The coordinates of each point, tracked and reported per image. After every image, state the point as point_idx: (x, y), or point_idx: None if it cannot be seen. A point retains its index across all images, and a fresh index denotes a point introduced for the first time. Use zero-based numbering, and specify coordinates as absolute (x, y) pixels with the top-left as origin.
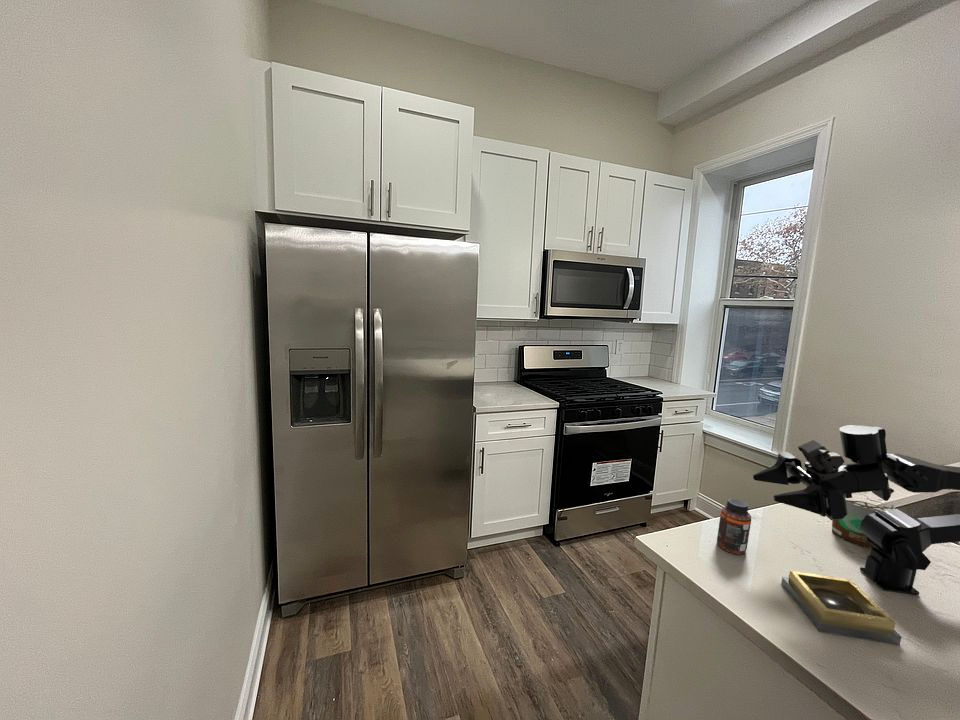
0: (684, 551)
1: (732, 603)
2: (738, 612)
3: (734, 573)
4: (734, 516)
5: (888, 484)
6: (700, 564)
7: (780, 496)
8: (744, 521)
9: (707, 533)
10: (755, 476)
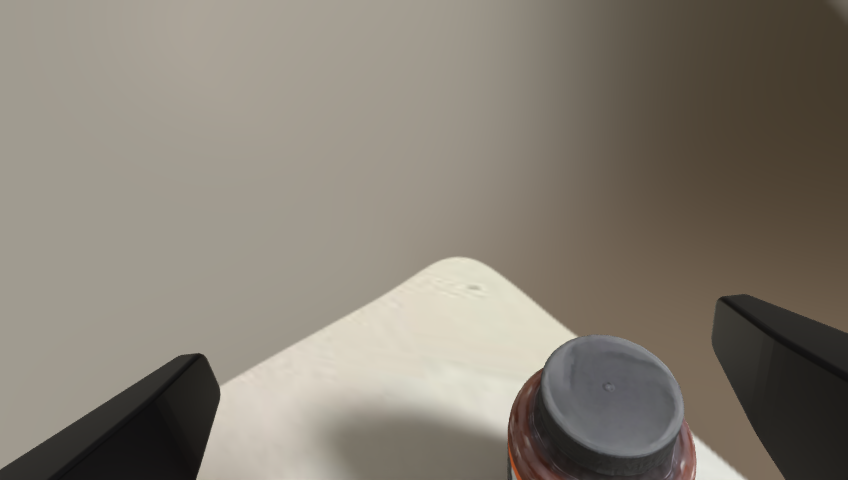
0: (458, 329)
1: None
2: None
3: (364, 469)
4: (520, 395)
5: None
6: (394, 363)
7: (134, 386)
8: (512, 458)
9: None
10: (722, 315)
